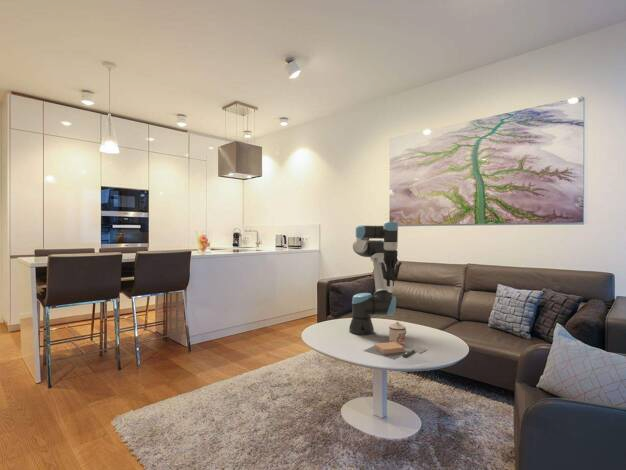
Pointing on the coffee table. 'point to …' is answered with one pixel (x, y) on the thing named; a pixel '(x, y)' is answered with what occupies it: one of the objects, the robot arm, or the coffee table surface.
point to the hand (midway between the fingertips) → (390, 292)
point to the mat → (391, 356)
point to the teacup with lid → (397, 333)
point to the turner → (416, 349)
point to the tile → (389, 348)
